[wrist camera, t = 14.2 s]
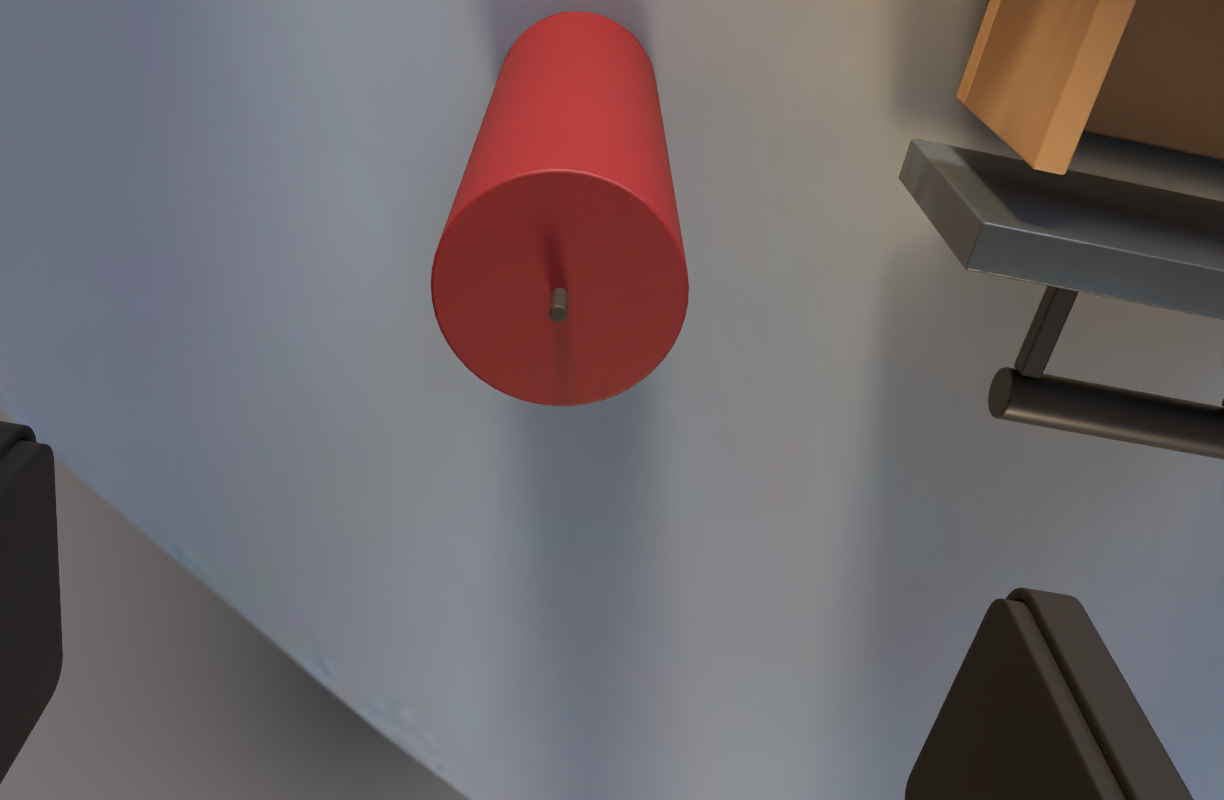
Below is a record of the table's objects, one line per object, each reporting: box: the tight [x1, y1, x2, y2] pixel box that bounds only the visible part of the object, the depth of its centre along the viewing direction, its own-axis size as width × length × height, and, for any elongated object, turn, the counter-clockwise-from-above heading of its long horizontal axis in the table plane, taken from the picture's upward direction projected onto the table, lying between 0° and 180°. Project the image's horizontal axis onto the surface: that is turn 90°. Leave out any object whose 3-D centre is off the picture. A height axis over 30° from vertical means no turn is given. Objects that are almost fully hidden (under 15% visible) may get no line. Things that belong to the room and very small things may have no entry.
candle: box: [431, 12, 689, 406], centre depth 25 cm, size 4×4×15 cm
